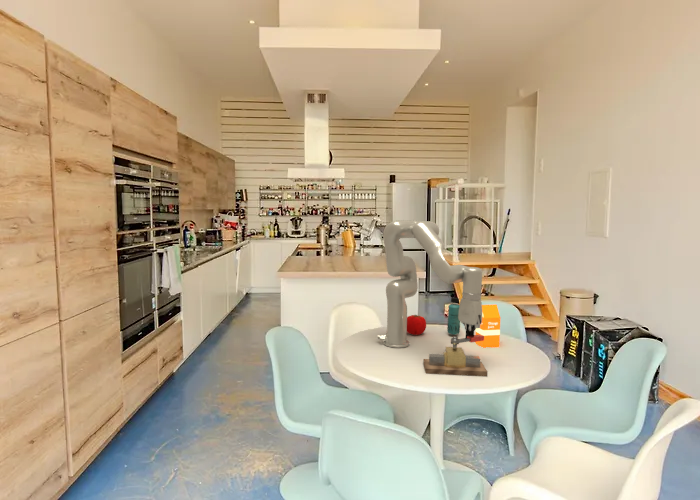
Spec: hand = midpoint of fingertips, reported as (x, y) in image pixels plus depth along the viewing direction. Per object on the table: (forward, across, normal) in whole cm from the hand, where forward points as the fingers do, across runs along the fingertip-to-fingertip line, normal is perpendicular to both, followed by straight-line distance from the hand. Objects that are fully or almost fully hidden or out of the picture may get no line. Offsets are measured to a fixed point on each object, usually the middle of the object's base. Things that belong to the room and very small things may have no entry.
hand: (469, 339), depth 187 cm
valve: (+9, +3, -11) cm, 14 cm away
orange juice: (+11, -17, +27) cm, 33 cm away
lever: (0, +3, -4) cm, 5 cm away
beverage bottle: (+11, -37, +23) cm, 45 cm away
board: (+11, +3, -11) cm, 15 cm away
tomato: (+11, -48, +6) cm, 49 cm away
